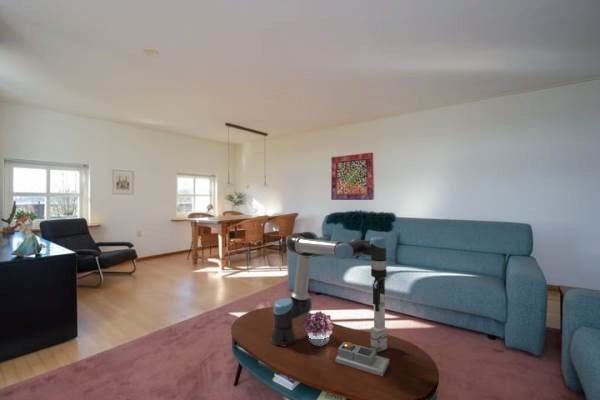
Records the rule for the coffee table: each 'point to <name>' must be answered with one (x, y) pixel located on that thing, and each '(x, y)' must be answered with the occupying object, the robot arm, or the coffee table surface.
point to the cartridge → (380, 322)
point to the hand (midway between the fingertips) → (379, 315)
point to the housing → (362, 359)
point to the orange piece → (348, 346)
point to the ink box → (378, 339)
